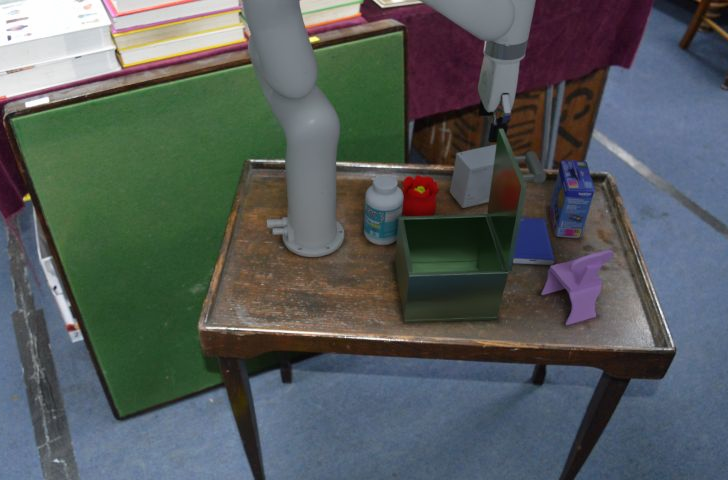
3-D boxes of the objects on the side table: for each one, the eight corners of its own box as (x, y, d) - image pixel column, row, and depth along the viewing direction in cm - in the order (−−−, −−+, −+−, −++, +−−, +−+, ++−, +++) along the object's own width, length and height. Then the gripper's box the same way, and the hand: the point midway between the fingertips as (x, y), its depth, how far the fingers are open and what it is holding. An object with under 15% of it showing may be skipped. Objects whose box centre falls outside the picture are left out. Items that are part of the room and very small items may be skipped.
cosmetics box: (463, 209, 141) (470, 168, 133) (449, 192, 145) (455, 151, 137) (506, 199, 143) (515, 158, 136) (491, 182, 147) (499, 141, 140)
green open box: (404, 323, 118) (409, 276, 110) (394, 263, 129) (398, 216, 121) (496, 320, 118) (508, 272, 110) (479, 260, 129) (489, 213, 121)
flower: (391, 218, 139) (393, 187, 133) (409, 199, 143) (412, 168, 138) (424, 231, 136) (428, 200, 130) (442, 212, 140) (446, 181, 134)
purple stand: (573, 282, 125) (594, 221, 114) (601, 315, 119) (626, 253, 108) (534, 293, 123) (553, 231, 112) (561, 327, 117) (583, 265, 106)
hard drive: (505, 216, 136) (512, 257, 128) (545, 218, 136) (555, 259, 127) (503, 222, 137) (510, 263, 129) (544, 224, 137) (553, 265, 128)
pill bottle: (357, 229, 136) (358, 176, 127) (388, 219, 139) (391, 165, 129) (375, 251, 131) (378, 197, 122) (407, 240, 134) (412, 185, 124)
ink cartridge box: (546, 207, 141) (562, 149, 131) (573, 208, 140) (591, 150, 130) (553, 237, 134) (570, 178, 124) (581, 239, 133) (601, 180, 123)
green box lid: (521, 185, 97) (557, 183, 97) (498, 128, 108) (530, 126, 108) (506, 270, 110) (538, 268, 109) (487, 211, 121) (516, 209, 120)
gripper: (475, 26, 126) (464, 106, 138) (494, 69, 114) (481, 153, 126) (514, 24, 126) (500, 105, 138) (538, 67, 114) (520, 151, 126)
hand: (491, 127), depth 132 cm, fingers open, 9 cm apart
